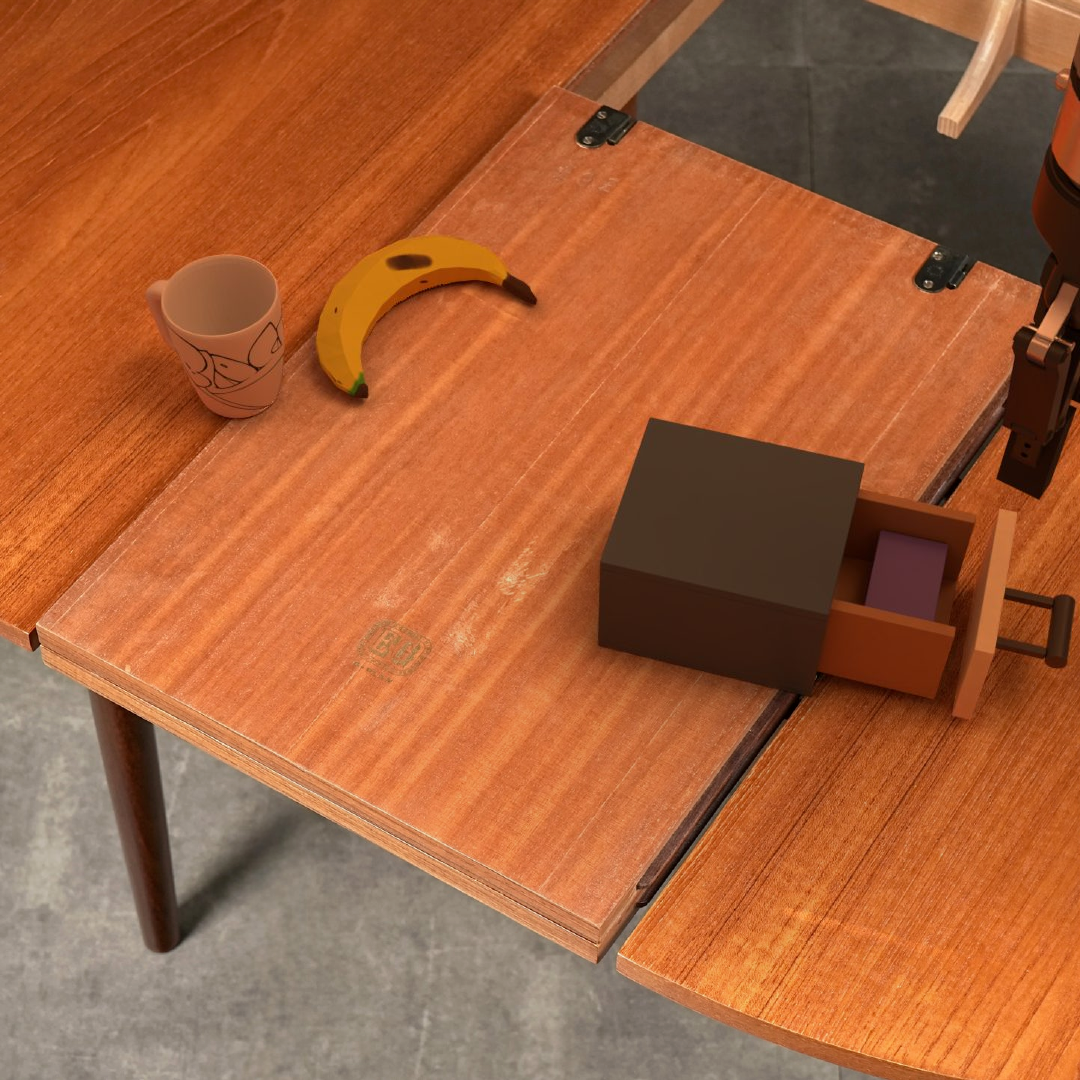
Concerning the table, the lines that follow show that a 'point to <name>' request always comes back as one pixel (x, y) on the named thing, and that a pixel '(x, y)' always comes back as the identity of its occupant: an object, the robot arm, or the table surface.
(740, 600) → the cabinet
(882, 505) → the drawer
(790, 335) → the table surface
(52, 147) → the table surface
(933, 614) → the purple block
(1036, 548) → the table surface
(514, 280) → the banana
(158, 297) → the mug
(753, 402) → the table surface
